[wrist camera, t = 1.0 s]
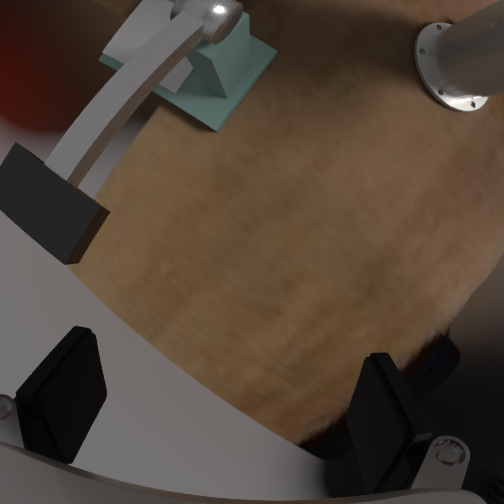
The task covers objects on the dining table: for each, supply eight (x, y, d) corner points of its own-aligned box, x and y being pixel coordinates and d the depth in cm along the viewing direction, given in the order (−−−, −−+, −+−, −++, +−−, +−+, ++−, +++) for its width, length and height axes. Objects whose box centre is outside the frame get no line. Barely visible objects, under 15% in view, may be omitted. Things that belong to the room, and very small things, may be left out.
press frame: (159, -6, 28) (113, -76, 13) (276, 56, 31) (293, -11, 15) (105, 64, 31) (28, 23, 15) (217, 132, 33) (190, 111, 18)
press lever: (183, -3, 16) (185, -33, 13) (258, 37, 17) (270, 7, 14) (7, 201, 14) (-21, 192, 11) (81, 262, 15) (60, 265, 12)
